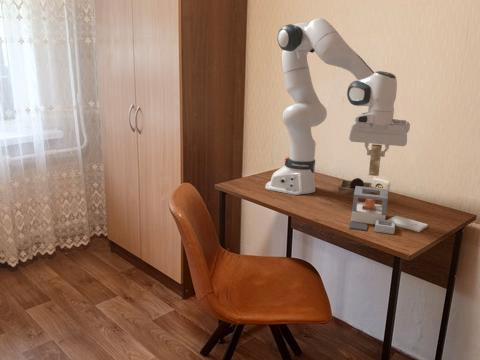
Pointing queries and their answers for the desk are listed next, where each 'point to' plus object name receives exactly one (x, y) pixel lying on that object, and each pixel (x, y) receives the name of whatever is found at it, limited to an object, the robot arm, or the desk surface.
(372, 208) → the button
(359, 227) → the pad
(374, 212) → the grey open box frame
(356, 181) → the dark brown rounded lump
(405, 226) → the external hard drive
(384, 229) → the grey square tray
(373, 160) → the tan rectangular block
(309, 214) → the desk surface
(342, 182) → the watch tray
